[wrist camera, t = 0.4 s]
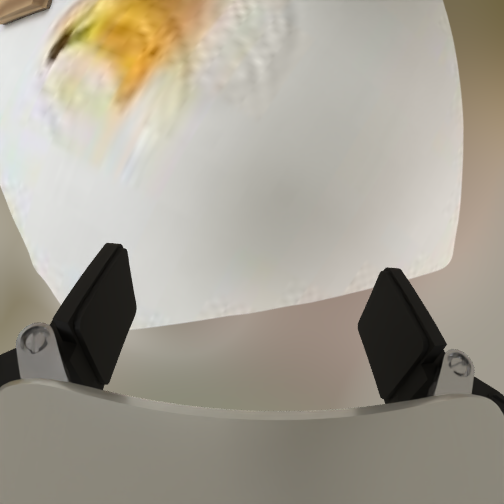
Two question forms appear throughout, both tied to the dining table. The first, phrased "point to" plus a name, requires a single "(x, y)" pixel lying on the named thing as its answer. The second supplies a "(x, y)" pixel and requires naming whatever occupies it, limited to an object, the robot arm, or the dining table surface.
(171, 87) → the dining table surface
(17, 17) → the bore block
